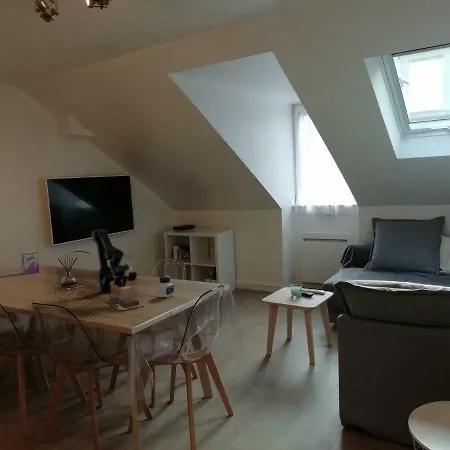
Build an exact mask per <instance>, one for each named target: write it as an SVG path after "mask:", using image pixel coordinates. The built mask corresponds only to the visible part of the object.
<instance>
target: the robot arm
mask: <svg viewBox="0 0 450 450" xmlns="http://www.w3.org/2000/svg"><path fill="white" fill-rule="evenodd" d="M108 233H109V232H108V230H106V229H103V228H102V229H94V230H93V231H91V238H92V241H93V242H94V243H95V244H96V249H97V255H98V261H99V269H98V273H97V276H96V283H98V284H99V291H101V292H108V293H110V292H109V291H111V290H112V286H111V284H112V283H111V282H113V285H114V286H116V287H118V288H119V289H120V287H126V284H127V281H129V282H134V281H136V280H137V276H138V273H137V272H136V271H130V272H128V274H126V272H127V271H128V270H130V265H129V264H128V263H125V264H124V265H122V264H121V262H122V260H123V258H124V255H125V254H124V252H123V250H120V249H119V248H117V247H116V246H114V245H113V244H112V241H111V238H110V237H109V234H108ZM108 261H109V265H108ZM111 292H112V291H111Z"/></svg>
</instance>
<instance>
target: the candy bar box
mask: <svg viewBox="0 0 450 450" xmlns="http://www.w3.org/2000/svg"><path fill="white" fill-rule="evenodd" d="M38 253H39V251H36V250H33V251H24V252H20V255H21V258H20V259H21V270H22V275H31V274H36V273H37V274H38V273H40V266H39V254H38Z"/></svg>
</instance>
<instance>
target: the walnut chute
mask: <svg viewBox="0 0 450 450" xmlns="http://www.w3.org/2000/svg"><path fill="white" fill-rule="evenodd" d="M109 295H110V296H109V297H110V298H109V299H105V302H106V301H107V302H108V303H107V302H106V303H107V304H109V303H110V304H111V305H113V306H115V307H116V308H117V307H118V305H116V304H119V305H120V306H122V307H123V308H129V307H133V306H137V305H139V302H140V300H139V299H136V298H134V297H132V299H133V301H131V302H126V303H125V302H123V301H121V300H120V299H118V298H119V296H115V295H113V294H109ZM110 304H109V305H110ZM111 305H110V306H111ZM113 306H112V307H113ZM116 308H115V309H116Z"/></svg>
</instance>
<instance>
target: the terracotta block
mask: <svg viewBox="0 0 450 450" xmlns="http://www.w3.org/2000/svg"><path fill="white" fill-rule="evenodd" d="M119 293H120V295H119V296H120V297H121V301H123V302H125V303H126V302H131V301H133V299H132V298H133V287H131V286H129V285H125V287H120V288H119Z"/></svg>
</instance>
